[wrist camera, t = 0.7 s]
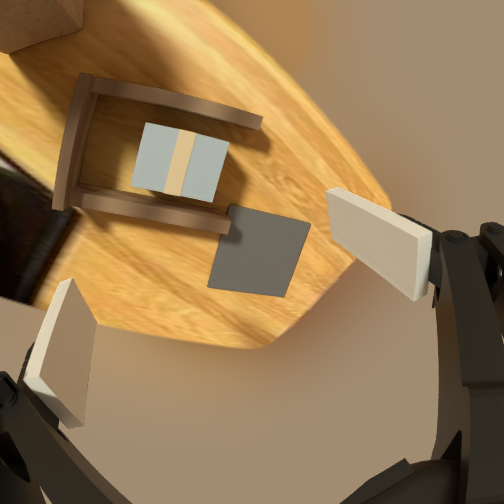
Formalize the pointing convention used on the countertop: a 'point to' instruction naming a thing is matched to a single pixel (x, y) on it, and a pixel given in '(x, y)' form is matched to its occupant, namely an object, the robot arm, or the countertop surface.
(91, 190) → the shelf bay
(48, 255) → the countertop surface
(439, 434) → the robot arm
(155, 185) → the block
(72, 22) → the wooden block
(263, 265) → the mat
